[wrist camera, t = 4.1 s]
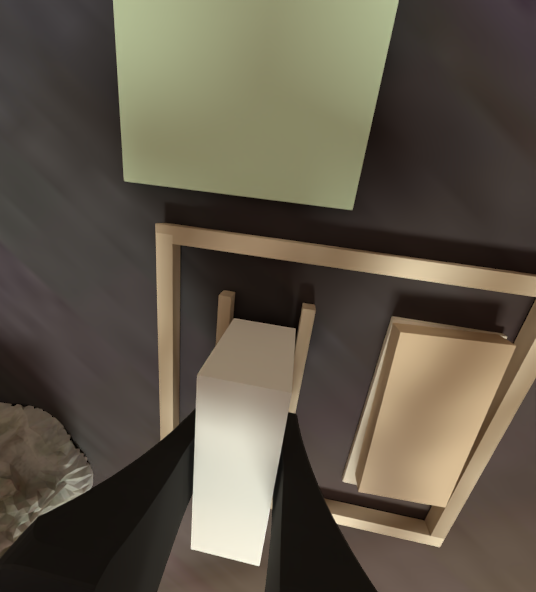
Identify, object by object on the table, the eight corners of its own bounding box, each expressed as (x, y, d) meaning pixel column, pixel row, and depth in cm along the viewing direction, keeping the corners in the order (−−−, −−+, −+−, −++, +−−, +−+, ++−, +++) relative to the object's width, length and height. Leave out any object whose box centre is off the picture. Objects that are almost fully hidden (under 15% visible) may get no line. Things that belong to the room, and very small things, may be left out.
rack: (568, 278, 11) (588, 283, 10) (433, 531, 16) (439, 547, 15) (164, 222, 12) (155, 223, 11) (167, 472, 18) (161, 483, 17)
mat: (426, -141, 8) (435, -164, 7) (350, 210, 11) (352, 210, 10) (114, -145, 8) (102, -167, 8) (131, 182, 12) (124, 180, 11)
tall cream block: (295, 328, 12) (291, 393, 8) (271, 465, 15) (259, 565, 11) (233, 318, 12) (197, 374, 8) (222, 454, 15) (191, 548, 11)
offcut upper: (498, 334, 11) (516, 345, 10) (436, 488, 15) (445, 507, 14) (393, 322, 12) (400, 332, 11) (355, 474, 15) (358, 491, 14)
